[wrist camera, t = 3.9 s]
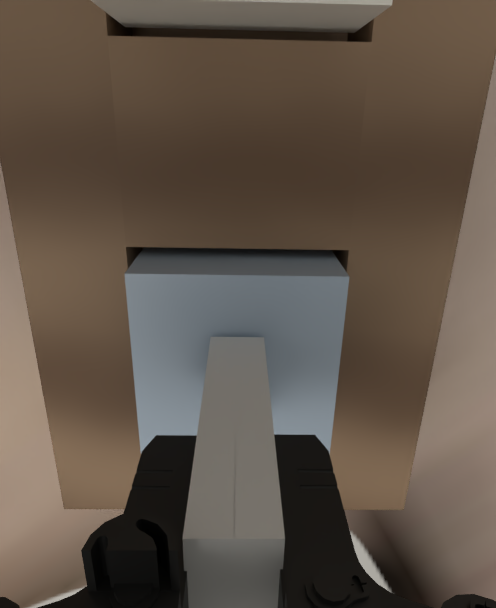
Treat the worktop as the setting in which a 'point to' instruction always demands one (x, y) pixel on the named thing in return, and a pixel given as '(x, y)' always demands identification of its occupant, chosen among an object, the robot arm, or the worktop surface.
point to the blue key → (235, 331)
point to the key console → (239, 201)
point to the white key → (246, 14)
